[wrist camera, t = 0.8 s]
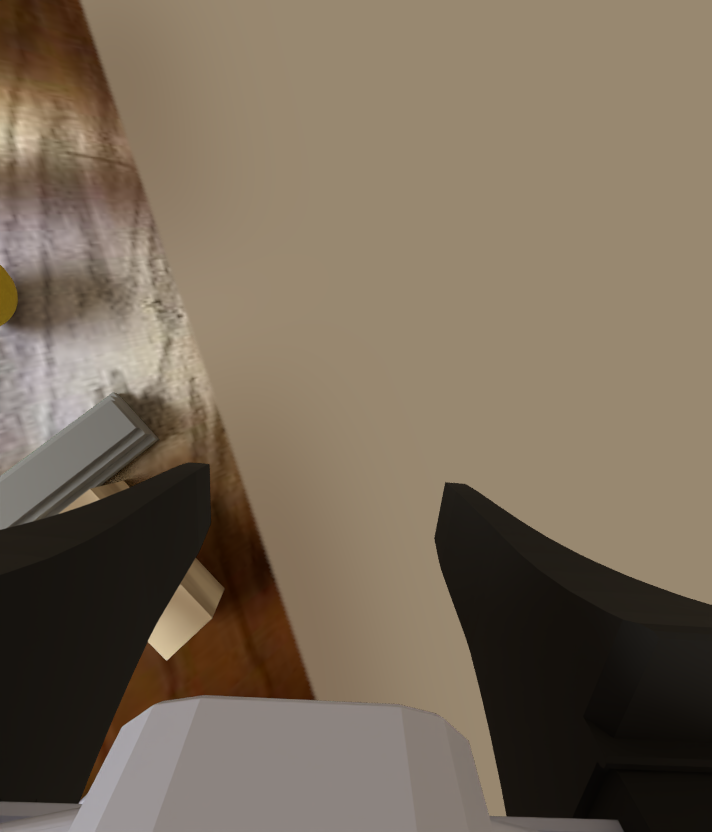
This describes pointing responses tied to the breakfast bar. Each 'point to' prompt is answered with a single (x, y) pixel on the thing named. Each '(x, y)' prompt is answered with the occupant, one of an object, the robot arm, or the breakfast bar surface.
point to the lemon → (7, 296)
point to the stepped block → (73, 462)
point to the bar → (188, 602)
